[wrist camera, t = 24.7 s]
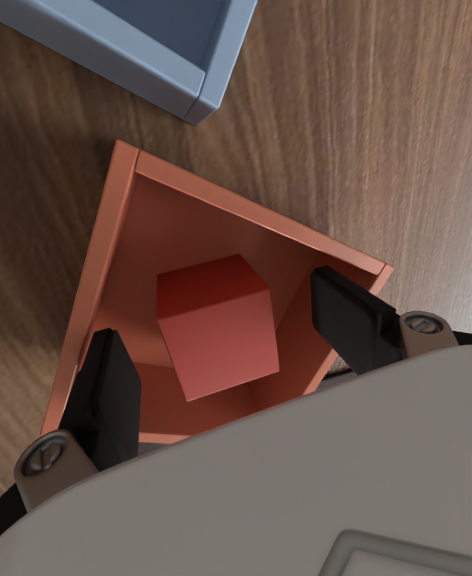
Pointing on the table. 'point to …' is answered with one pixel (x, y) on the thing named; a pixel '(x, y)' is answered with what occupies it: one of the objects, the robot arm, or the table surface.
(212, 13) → the blue bin
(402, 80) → the table surface
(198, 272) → the red block
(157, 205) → the red bin
